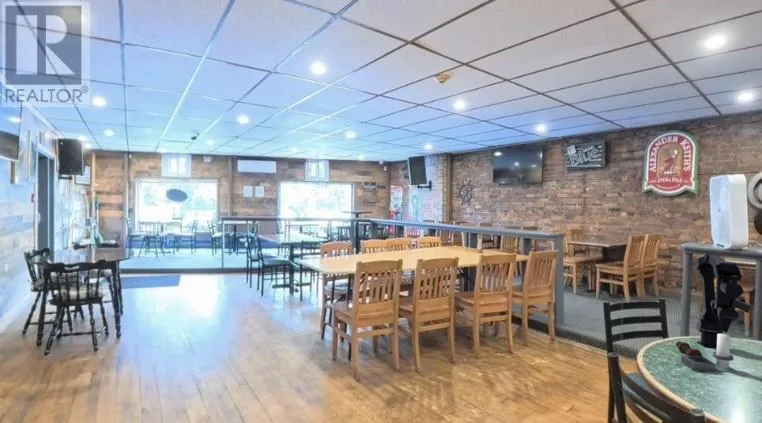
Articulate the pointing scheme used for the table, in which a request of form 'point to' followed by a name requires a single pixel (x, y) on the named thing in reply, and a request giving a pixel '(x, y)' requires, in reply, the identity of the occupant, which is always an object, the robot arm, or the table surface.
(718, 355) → the pin
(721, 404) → the table surface
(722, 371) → the mat
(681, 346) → the bolt
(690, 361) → the block
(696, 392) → the table surface
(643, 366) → the table surface
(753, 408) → the table surface
